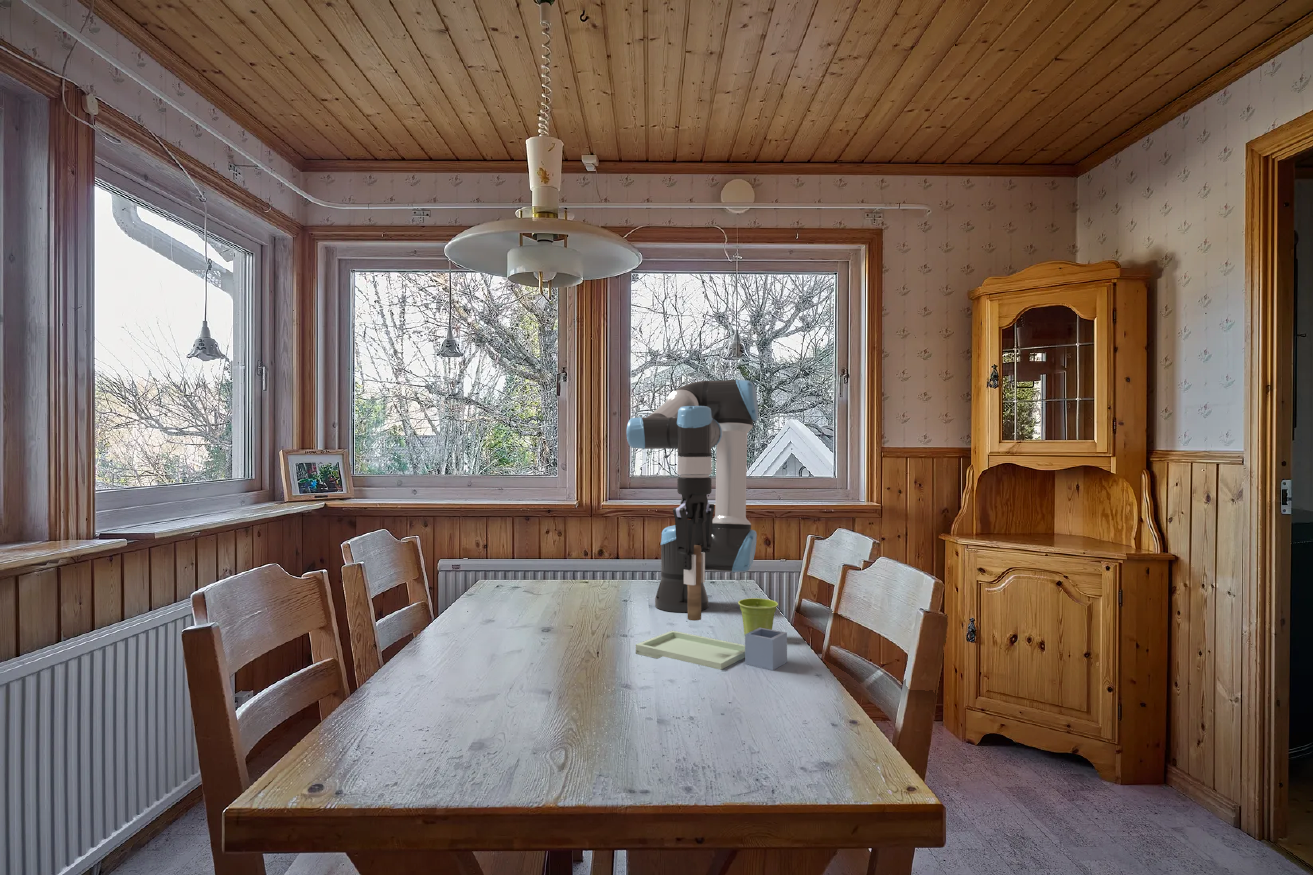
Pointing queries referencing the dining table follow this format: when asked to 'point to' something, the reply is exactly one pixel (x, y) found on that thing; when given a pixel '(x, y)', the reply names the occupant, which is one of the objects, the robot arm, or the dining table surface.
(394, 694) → the dining table surface
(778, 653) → the open box
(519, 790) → the dining table surface
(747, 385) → the robot arm
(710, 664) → the tray
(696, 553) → the dowel
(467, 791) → the dining table surface
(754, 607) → the plant pot
